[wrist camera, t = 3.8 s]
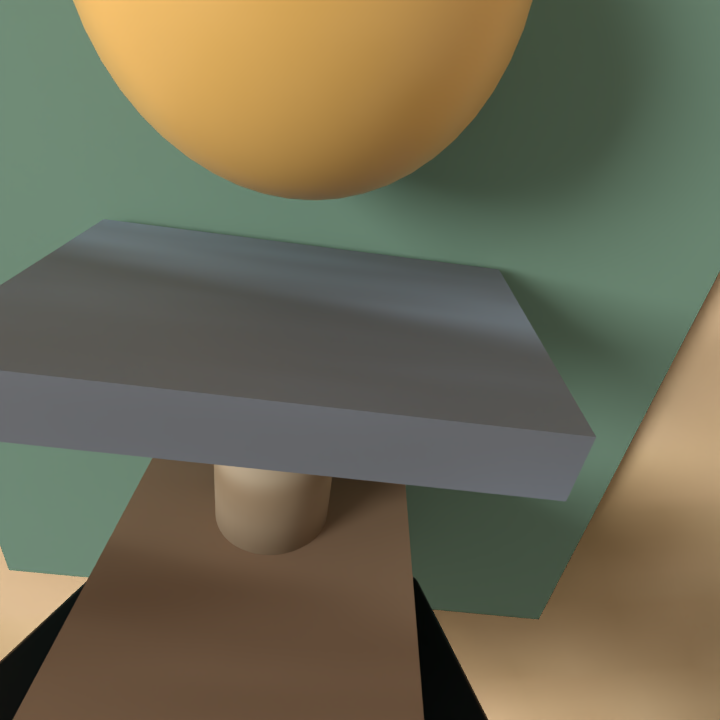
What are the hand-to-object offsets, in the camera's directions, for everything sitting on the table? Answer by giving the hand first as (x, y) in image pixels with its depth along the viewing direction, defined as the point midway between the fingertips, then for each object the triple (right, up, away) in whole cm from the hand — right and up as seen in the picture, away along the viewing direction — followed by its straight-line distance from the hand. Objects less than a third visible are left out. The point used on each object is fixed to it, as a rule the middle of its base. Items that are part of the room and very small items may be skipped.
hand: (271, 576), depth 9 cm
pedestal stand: (0, +2, +1) cm, 3 cm away
